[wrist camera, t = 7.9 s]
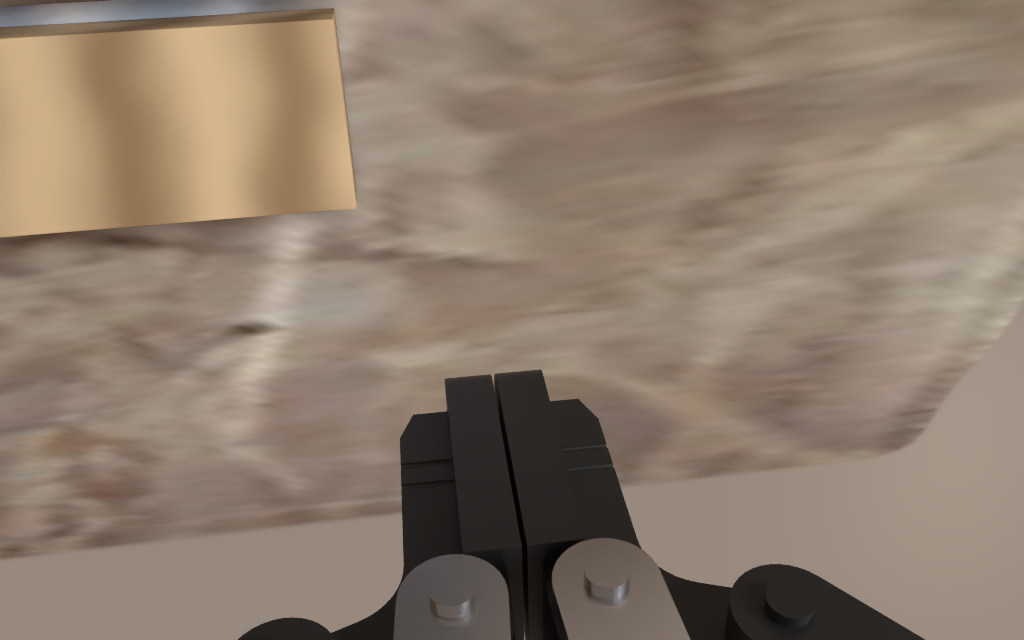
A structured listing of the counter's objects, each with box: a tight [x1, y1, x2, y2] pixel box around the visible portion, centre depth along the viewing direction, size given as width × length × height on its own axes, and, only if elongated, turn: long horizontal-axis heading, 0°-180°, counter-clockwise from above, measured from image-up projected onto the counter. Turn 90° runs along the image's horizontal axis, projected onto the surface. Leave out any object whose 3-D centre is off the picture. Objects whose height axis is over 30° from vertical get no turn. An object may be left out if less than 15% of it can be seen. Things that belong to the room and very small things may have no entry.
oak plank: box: [0, 8, 357, 237], centre depth 36 cm, size 16×8×2 cm, turn 92°
